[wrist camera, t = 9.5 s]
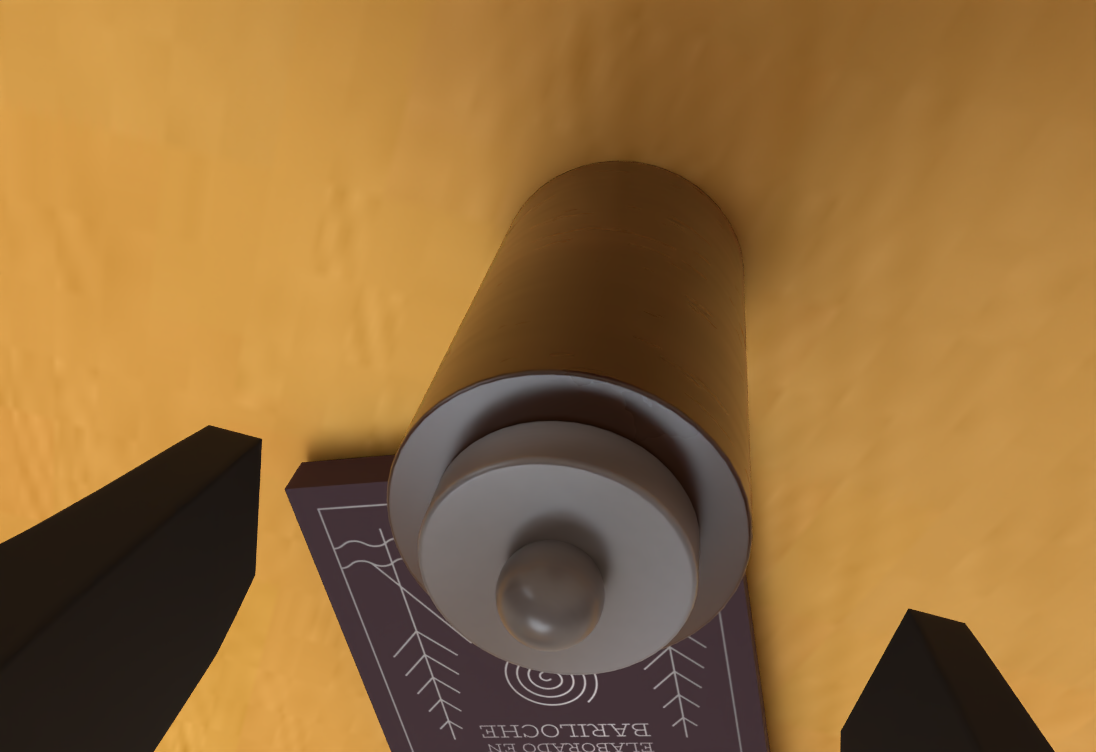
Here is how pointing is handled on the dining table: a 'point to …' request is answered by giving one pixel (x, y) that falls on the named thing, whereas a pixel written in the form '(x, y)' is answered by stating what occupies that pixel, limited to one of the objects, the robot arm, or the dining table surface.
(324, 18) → the dining table surface
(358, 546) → the chocolate bar
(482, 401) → the pepper mill
